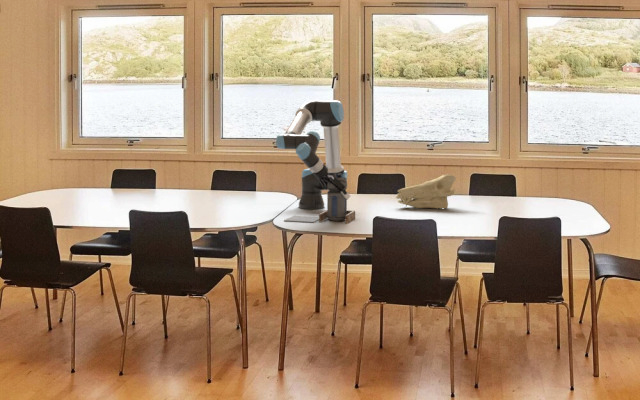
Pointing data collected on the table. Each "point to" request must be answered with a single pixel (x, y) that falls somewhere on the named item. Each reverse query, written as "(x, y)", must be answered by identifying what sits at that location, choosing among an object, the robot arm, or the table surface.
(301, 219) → the grey rubber mat
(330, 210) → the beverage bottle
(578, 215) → the table surface
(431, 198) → the animal skull
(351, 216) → the walnut dock
